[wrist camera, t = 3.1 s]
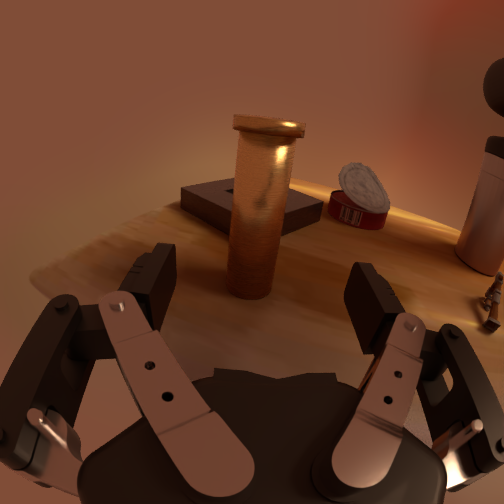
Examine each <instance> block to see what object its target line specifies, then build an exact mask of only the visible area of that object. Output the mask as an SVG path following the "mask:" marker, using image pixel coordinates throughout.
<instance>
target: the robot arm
mask: <svg viewBox="0 0 504 504" xmlns="http://www.w3.org/2000/svg"><path fill="white" fill-rule="evenodd" d="M483 91H484V96H485V99H486V102H487V103H488V105H489V107H490V108H491V109H492V110H493V111H495V112H496V113H497V114H499V115H500V116H502V117H504V58H502V59H499V60H497V61H495V62H494V63H493V64H492V65H491V66H490V68H489V69H488V71H487V73H486V75H485V78H484V83H483ZM455 252H456V254H457V255H458V256H459V258H460V259H462V260H463V261H464V262H465V263H466V264H468V265H469V266H470V267H472V268H474V269H475V270H477V271H479V272H481V273H484V274H486V275H490V276H494V275H496V274H497V272H498V270H499V268H500V266H501V264H502V261H503V259H504V137H498V136H490V137H489V138H488V139H487V143H486V147H485V152H484V157H483V162H482V165H481V170H480V174H479V178H478V182H477V185H476V189H475V192H474V196H473V199H472V203H471V206H470V209H469V212H468V215H467V218H466V221H465V223H464V226H463V229H462V231H461V234H460V237H459V239H458V242H457V245H456V247H455ZM176 278H177V272H176V248H175V244H167V243H157V245H156V246H155V248H154V250H153V251H152V253H144V254H143V255H141V256H140V257H139V258H137V260H136V261H135V263H134V264H133V267H132V268H131V269H130V271H129V272H128V274H127V276H126V277H125V279H124V280H123V282H122V284H121V285H120V287H119V289H118V290H117V291H114V292H110V293H108V294H106V295H105V296H103V297H102V298H101V300H100V301H99V304H95V305H82V306H80V305H79V302H78V299H77V298H76V297H75V296H73V295H69V294H64V295H59V296H57V297H55V298H53V299H52V300H51V301H50V302H49V303H48V304H47V306H46V307H45V309H44V310H43V312H42V313H41V315H40V316H39V318H38V320H37V321H36V323H35V324H34V326H33V327H32V329H31V331H30V333H29V334H28V336H27V337H26V339H25V341H24V343H23V344H22V346H21V348H20V350H19V351H18V353H17V355H16V357H15V359H14V360H13V362H12V364H11V366H10V368H9V370H8V372H7V374H6V376H5V378H4V380H3V382H2V384H1V386H0V461H1V462H2V463H4V465H5V466H7V467H8V468H9V469H11V470H12V471H14V472H16V473H17V474H19V475H21V476H22V477H24V478H26V479H27V480H30V481H33V482H34V483H36V484H38V485H40V486H42V487H46V488H50V487H54V488H56V489H59V490H61V491H64V492H66V493H69V494H71V495H74V496H77V497H79V498H80V501H81V504H443V502H444V496H445V492H446V491H449V492H456V491H459V490H461V489H462V488H464V487H466V486H468V485H470V484H472V483H473V482H475V481H477V480H479V479H481V478H482V477H484V476H486V475H487V474H489V473H490V472H492V471H493V470H495V469H497V468H498V467H500V466H501V465H503V464H504V413H503V410H502V408H501V406H500V403H499V401H498V399H497V396H496V394H495V392H494V390H493V388H492V385H491V383H490V381H489V379H488V377H487V375H486V373H485V371H484V369H483V367H482V365H481V363H480V361H479V359H478V358H477V356H476V354H475V352H474V350H473V348H472V347H471V345H470V343H469V341H468V339H467V338H466V336H465V334H464V333H463V332H462V330H461V329H459V328H458V327H457V326H455V325H452V324H444V325H443V326H442V327H441V329H440V330H439V332H435V331H431V330H427V329H426V328H425V325H424V323H423V322H422V320H421V319H419V318H418V317H417V316H415V315H413V314H410V313H406V312H405V310H404V308H403V306H402V305H401V303H400V301H399V300H398V298H397V296H395V293H394V291H393V290H392V288H391V286H390V285H389V283H388V281H387V280H385V279H384V278H383V277H382V276H381V275H379V274H378V273H377V272H376V270H375V269H374V267H373V265H372V264H371V263H362V262H355V263H354V264H353V267H352V270H351V273H350V276H349V279H348V282H347V284H346V287H345V291H344V302H345V305H346V308H347V310H348V313H349V316H350V318H351V321H352V324H353V327H354V329H355V332H356V335H357V338H358V340H359V343H360V346H361V349H362V352H363V355H364V354H374V359H373V360H372V362H371V364H370V366H369V368H368V370H367V372H366V374H365V376H364V378H363V380H362V382H361V383H360V385H359V387H358V389H356V388H354V387H352V386H350V385H348V384H345V383H341V382H337V378H336V374H335V373H306V374H301V375H296V376H291V377H286V378H281V379H275V378H271V377H267V376H263V375H259V374H255V373H252V372H248V371H242V370H230V369H219V368H214V375H213V377H207V378H202V379H199V380H196V381H193V382H191V381H190V380H189V379H188V377H187V376H186V374H185V373H184V371H183V370H182V368H181V367H180V365H179V364H178V362H177V360H176V359H175V357H174V356H173V354H172V353H171V351H170V349H169V348H168V346H167V345H166V343H165V341H164V340H163V338H162V336H161V335H160V333H159V332H160V329H161V326H162V323H163V320H164V317H165V314H166V311H167V309H168V306H169V303H170V300H171V297H172V295H173V292H174V289H175V286H176ZM114 358H115V359H116V361H117V363H118V366H119V368H120V370H121V373H122V375H123V377H124V380H125V382H126V384H127V386H128V388H129V390H130V392H131V395H132V397H133V399H134V401H135V403H136V405H137V407H138V410H139V411H140V413H141V415H142V418H140V419H139V420H138V421H137V422H135V423H134V424H133V425H131V426H130V427H128V428H127V429H125V430H124V431H123V432H121V433H120V434H118V435H117V436H116V437H114V438H113V439H111V440H110V441H109V442H107V443H106V444H105V445H103V446H101V447H100V448H98V449H97V450H95V451H94V452H92V453H91V454H90V455H89V456H88V457H87V458H86V459H85V460H84V462H83V460H82V458H81V453H80V450H81V442H80V438H79V436H78V435H77V433H76V432H75V431H74V429H73V427H74V423H75V420H76V417H77V413H78V410H79V407H80V404H81V401H82V398H83V395H84V392H85V389H86V386H87V383H88V380H89V377H90V375H91V372H92V369H93V367H94V364H95V361H96V360H98V359H114ZM447 368H448V369H449V371H450V373H451V376H452V378H453V387H452V389H451V391H450V392H449V390H448V387H447V385H446V382H445V380H444V378H443V375H442V374H443V373H444V372H445V371H446V369H447ZM416 389H417V392H418V395H419V398H420V401H421V404H422V407H423V411H424V414H425V417H426V420H427V424H428V427H429V431H430V434H431V438H432V442H433V445H432V448H431V449H430V448H429V447H428V446H427V445H425V444H424V443H423V442H422V441H420V440H419V439H418V438H417V437H415V436H414V435H413V434H412V433H410V432H409V431H408V430H407V429H406V428H404V427H403V425H404V423H405V420H406V417H407V414H408V411H409V408H410V406H411V402H412V399H413V396H414V393H415V390H416Z"/></svg>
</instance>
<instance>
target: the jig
mask: <svg viewBox="0 0 504 504" xmlns="http://www.w3.org/2000/svg"><path fill="white" fill-rule="evenodd" d="M234 180H235V178H231V179H225V180H219V181H213V182H207V183H202V184H196V185H191V186H186V187H181V208H182V209H184V210H185V211H187V212H189V213H191V214H192V215H194V216H196V217H198V218H200V219H201V220H203V221H205V222H207V223H208V224H210V225H212V226H214V227H215V228H217V229H219V230H221V231H223V232H224V233H226V234H228V235H230V224H231V213H232V201H233V190H234ZM323 202H324V201H321V200H319V199H316V198H314V197H311V196H308V195H306V194H303V193H301V192H298V191H295V190H293V189H290V188H289V190H288V196H287V202H286V208H285V214H284V220H283V226H282V231H281V236H283V235H285V234H288V233H290V232H293V231H295V230H298V229H300V228H303V227H305V226H308V225H310V224H313V223H315V222H318V221H319V220H320V216H321V211H322V206H323Z"/></svg>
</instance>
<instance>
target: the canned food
mask: <svg viewBox="0 0 504 504" xmlns="http://www.w3.org/2000/svg"><path fill="white" fill-rule="evenodd" d="M339 183H340V186H341V188H342V189H343V190H336V191H333V192H332V193H331V196H330V201H329V205H328V213H329V214H330V215H331V216H332V217H333V218H335V219H337V220H338V221H340V222H342V223H345V224H347V225H350V226H353V227H356V228H361V229H366V230H379V229H382V228H383V227H384V224H385V220H386V217H387V214H388V211H389V209H390V201H389V199H388V196H387V193H386V191H385V190H384V188H383V186H382V184H381V183H380V181H379V180H378V178H377V176H376V175H375V173H374V172H373V171H372V170H371V169H370V168H369V167H368V166H364V165H363V164H361V163H350V164H348V165H346V166H344V167H343V168H342V170H341V171H340V173H339Z"/></svg>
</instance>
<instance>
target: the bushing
mask: <svg viewBox="0 0 504 504" xmlns="http://www.w3.org/2000/svg"><path fill="white" fill-rule="evenodd" d="M305 127H306V124H305V123H302V122H297V121H292V120H285V119H280V118H272V117H264V116H253V115H240V114H234V119H233V129H234V130H238V131H239V140H238V150H237V159H236V170H235V180H234V190H233V201H232V213H231V224H230V236H229V249H228V261H227V275H226V287H227V289H228V290H229V292H231V293H232V294H233V295H235V296H237V297H239V298H243V299H251V300H253V299H260V298H263V297H265V296H267V295H268V294H269V293H270V291H271V287H272V282H273V276H274V271H275V265H276V260H277V254H278V249H279V243H280V237H281V231H282V226H283V220H284V214H285V208H286V202H287V196H288V190H289V183H290V177H291V171H292V164H293V158H294V151H295V144H296V138H304V133H305Z"/></svg>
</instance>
